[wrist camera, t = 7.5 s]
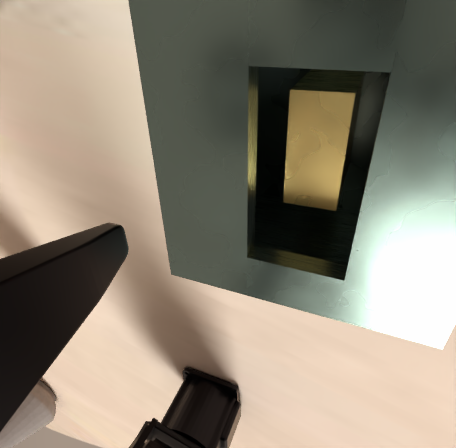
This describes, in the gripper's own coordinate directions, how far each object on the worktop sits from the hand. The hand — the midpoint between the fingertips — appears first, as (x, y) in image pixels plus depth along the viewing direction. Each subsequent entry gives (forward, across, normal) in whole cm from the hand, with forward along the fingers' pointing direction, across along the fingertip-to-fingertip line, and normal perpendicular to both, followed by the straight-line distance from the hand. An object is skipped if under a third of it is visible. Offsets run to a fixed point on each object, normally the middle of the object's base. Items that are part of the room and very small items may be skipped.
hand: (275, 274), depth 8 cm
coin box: (+13, 0, 0) cm, 13 cm away
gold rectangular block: (+12, 0, 0) cm, 13 cm away
